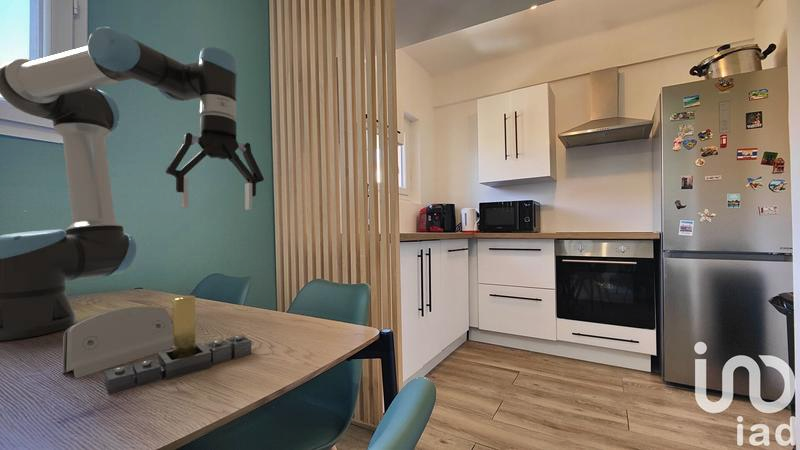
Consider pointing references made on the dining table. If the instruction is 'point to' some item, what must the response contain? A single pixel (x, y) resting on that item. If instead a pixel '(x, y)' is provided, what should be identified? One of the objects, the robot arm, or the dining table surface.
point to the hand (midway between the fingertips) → (218, 208)
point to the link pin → (183, 326)
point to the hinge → (116, 339)
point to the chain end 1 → (145, 374)
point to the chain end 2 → (209, 353)
